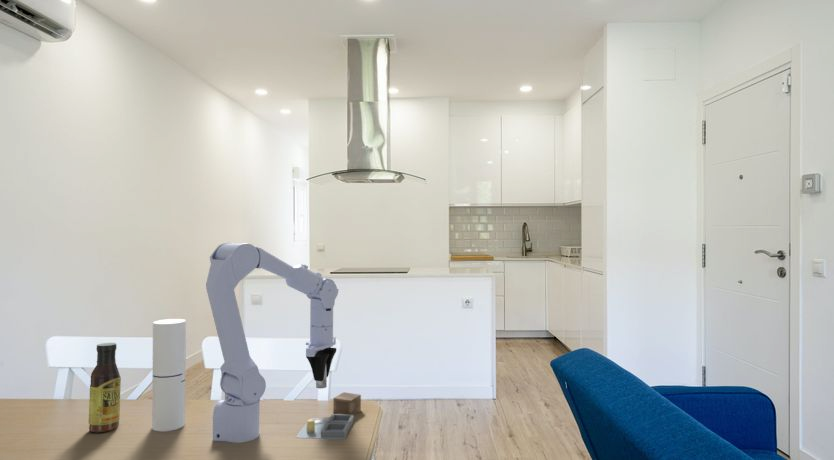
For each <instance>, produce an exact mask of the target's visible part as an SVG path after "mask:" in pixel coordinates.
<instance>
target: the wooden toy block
mask: <svg viewBox="0 0 834 460" xmlns="http://www.w3.org/2000/svg"><path fill="white" fill-rule="evenodd" d="M361 399H362V395H361V394H358V393H352V392H351V393H350V392H342V393H340V394H338V395H336V396H335V397H333V411H332V412H333V413H332V414H353V415H354V416H355V415H356V414H358V413H360V412H361V410H362V406H361V404H362V403H361V401H362V400H361Z"/></svg>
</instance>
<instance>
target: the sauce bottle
mask: <svg viewBox="0 0 834 460" xmlns="http://www.w3.org/2000/svg"><path fill="white" fill-rule="evenodd" d="M116 351H117V343H116V342H105V343H104V342H103V343H98V344H97V345H96V352H97V354H96V356H97V357H96V358H97V359H96V365H95V367H94V368H93V370H92V371H91V373H90V385H89V401H88V403H89V406H88V424H89V427H88V429H89V432H91V433H97V434H98V433H104V432H110V431H112V430H115V429H116V428H118V426H119V425H120V418H121V417H120V414H121V385H122V384H121V380H122V378H121V375H120V372H119V368H118V365H117V361H116Z"/></svg>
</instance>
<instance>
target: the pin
mask: <svg viewBox="0 0 834 460" xmlns="http://www.w3.org/2000/svg"><path fill="white" fill-rule="evenodd" d="M327 378H328V377H327V363H326V366H325V373H324V379H323V381H315V384H316V385H315V388H316V389H326V388H327Z"/></svg>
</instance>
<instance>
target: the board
mask: <svg viewBox="0 0 834 460" xmlns="http://www.w3.org/2000/svg"><path fill="white" fill-rule="evenodd" d="M354 421H355V415H353V414H333V413H332V414H331V416H330V417H328V418H321V417H319V418H318V417H317V418H316V417H309V419H307V420H306V423H305V424H304V425H303V427H302V428H301V429H300V431H299V432H298V433H297V435H296V436H295V439H319V440H323V439H324V440H345V439H346V437H347V435H348V434H349V431H350V429H351V427H352V426H353V424H354Z"/></svg>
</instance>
